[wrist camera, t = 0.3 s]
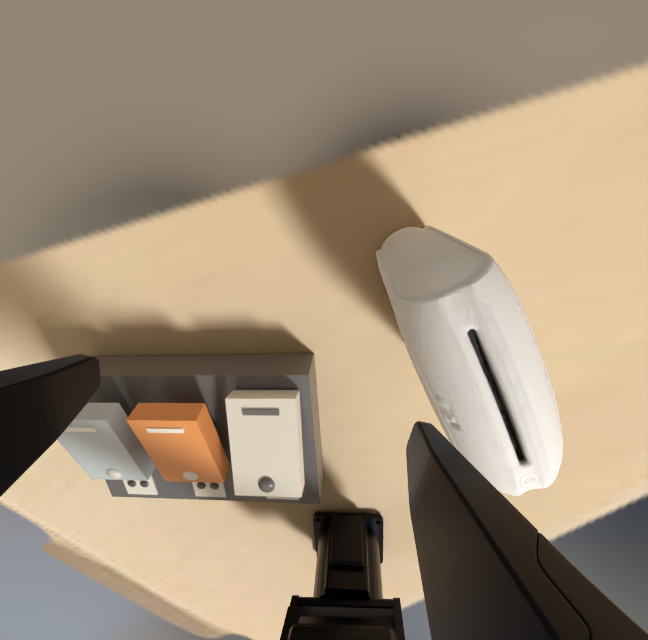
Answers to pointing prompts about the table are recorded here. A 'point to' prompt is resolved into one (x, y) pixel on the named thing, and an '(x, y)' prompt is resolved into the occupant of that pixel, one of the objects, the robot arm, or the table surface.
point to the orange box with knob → (180, 441)
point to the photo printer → (474, 356)
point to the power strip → (213, 409)
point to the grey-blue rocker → (106, 444)
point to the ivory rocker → (266, 442)
